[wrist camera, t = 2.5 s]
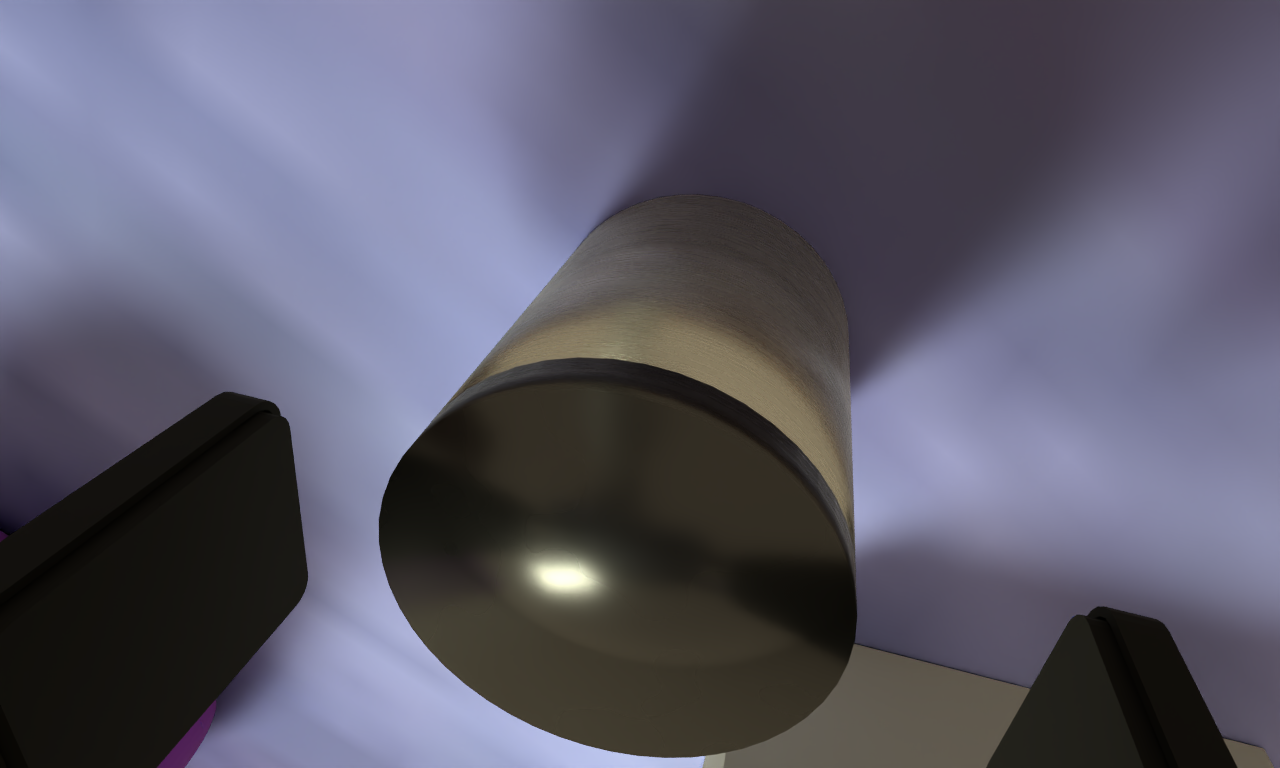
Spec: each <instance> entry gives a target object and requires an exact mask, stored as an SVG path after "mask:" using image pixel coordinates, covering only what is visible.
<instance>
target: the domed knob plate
mask: <svg viewBox="0 0 1280 768" xmlns="http://www.w3.org/2000/svg"><path fill="white" fill-rule="evenodd" d="M1029 691H1030V689H1029V688H1025V687H1021V686H1017V685H1013V684H1009V683H1005V682H1001V681H997V680H994V679H990V678H986V677H982V676H978V675H974V674H970V673H966V672H962V671H958V670H954V669H951V668H947V667H943V666H939V665H935V664H931V663H927V662H923V661H919V660H915V659H911V658H908V657H904V656H900V655H896V654H892V653H888V652H884V651H880V650H876V649H872V648H868V647H865V646H861V645H857V644H854V645H853V649H852V652H851V655H850V659H849V662H848V665H847V667H846V669H845V670H844V672H843V674H842V676H841V678H840V680H839V682H838V684H837V685H836V687H835V688H834V689H833V690H832V692H831V693H830V694H829V696H828V697H827V698H826V699H825V701H824V702H823V703H822V704H821V705H820V706H819V707H818V708H816V709H815V710H814V711H813V712H812V713H811V714H810V715H809V716H808V717H807V718H805V719H804V720H802V721H801V722H799V723H798V724H796V725H795V726H793V727H792V728H790V729H789V730H787V731H785V732H783V733H781V734H779V735H777V736H775V737H773V738H771V739H769V740H767V741H764V742H761V743H758V744H755V745H752V746H749V747H746V748H743V749H740V750H735V751H731V752H726V753H721V754H717V755H707V756H706V757H705V760H704V764H703V767H702V768H986V767H987V765H988V762H989V761H990V759H991V757H992V755H993V754H994V752H995V750H996V748H997V747H998V745H999V743H1000V741H1001V740H1002V738H1003V736H1004V734H1005V733H1006V731H1007V729H1008V727H1009V726H1010V724H1011V722H1012V720H1013V719H1014V717H1015V715H1016V713H1017V712H1018V710H1019V708H1020V706H1021V705H1022V703H1023V701H1024V699H1025V698H1026V696H1027V694H1028V692H1029ZM1223 739H1224V738H1223ZM1224 741H1225V743H1226V745H1227V747H1228V749H1229V751H1230V753H1231V755H1232V757H1233V759H1234V761H1235V763H1236V765H1237V767H1238V768H1274V767H1273V765H1272V763H1271V761H1270V759H1269V757H1268V755H1267V753H1266V752H1265V750H1264V749H1263V748H1260V747H1256V746H1252V745H1248V744H1244V743H1240V742H1236V741H1232V740H1228V739H1224Z"/></svg>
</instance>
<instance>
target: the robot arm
mask: <svg viewBox="0 0 1280 768" xmlns="http://www.w3.org/2000/svg"><path fill="white" fill-rule="evenodd" d="M307 581H308V571H307V563H306V555H305V546H304V538H303V530H302V522H301V514H300V505H299V497H298V489H297V481H296V473H295V464H294V456H293V448H292V440H291V432H290V426H289V422H288V421H287V420H286V418H284V417H282V416H281V415H280V411H279V409H278V407H277V406H276V405H275V404H274V403H272V402H270V401H266V400H262V399H258V398H254V397H250V396H246V395H242V394H238V393H234V392H223V393H221V394H219V395H217V396H215V397H214V398H212V399H211V400H209V401H208V402H206V403H205V404H203V405H202V406H200V407H199V408H197V409H196V410H194V411H193V412H191V413H190V414H188V415H187V416H186V417H184V418H183V419H181V420H180V421H178V422H177V423H175V424H174V425H172V426H171V427H169V428H168V429H166V430H165V431H163V432H162V433H160V434H159V435H157V436H156V437H154V438H153V439H152V440H150V441H149V442H147V443H146V444H144V445H143V446H141V447H140V448H138V449H137V450H135V451H134V452H132V453H131V454H129V455H128V456H126V457H125V458H123V459H122V460H120V461H119V462H117V463H116V464H115V465H113V466H112V467H110V468H109V469H107V470H106V471H104V472H103V473H101V474H100V475H98V476H97V477H95V478H94V479H92V480H91V481H89V482H88V483H86V484H85V485H83V486H82V487H81V488H79V489H78V490H76V491H75V492H73V493H72V494H70V495H69V496H67V497H66V498H64V499H63V500H61V501H60V502H58V503H57V504H55V505H54V506H52V507H51V508H49V509H48V510H47V511H45V512H44V513H42V514H41V515H39V516H38V517H36V518H35V519H33V520H32V521H30V522H29V523H27V524H26V525H24V526H23V527H21V528H20V529H18V530H17V531H15V532H14V533H12V534H11V535H10V536H8V537H7V538H5V539H4V540H2V541H1V542H0V768H157V767H158V766H159V765H160V764H161V762H162V761H163V760H164V759H165V758H166V757H167V755H168V754H169V753H170V752H171V751H172V750H173V748H174V747H175V746H176V745H177V744H178V743H179V741H180V740H181V739H182V738H183V737H184V736H185V734H186V733H187V732H188V731H189V730H190V729H191V727H192V726H193V725H194V724H195V723H196V722H197V721H198V719H199V718H200V717H201V716H202V715H203V714H204V712H205V711H206V710H207V709H208V708H209V707H210V705H211V704H212V703H213V702H214V701H215V700H216V698H217V697H218V696H219V695H220V694H221V693H222V691H223V690H224V689H225V688H226V687H227V686H228V684H229V683H230V682H231V681H232V680H233V679H234V677H235V676H236V675H237V674H238V673H239V672H240V670H241V669H242V668H243V667H244V666H245V665H246V664H247V662H248V661H249V660H250V659H251V658H252V657H253V655H254V654H255V653H256V652H257V651H258V650H259V648H260V647H261V646H262V645H263V644H264V643H265V641H266V640H267V639H268V638H269V637H270V636H271V634H272V633H273V632H274V631H275V630H276V629H277V627H278V626H279V625H280V624H281V623H282V622H283V620H284V619H285V618H286V617H287V616H288V615H289V614H290V612H291V611H292V610H293V609H294V608H295V607H296V605H297V604H298V603H299V601H300V600H301V598H302V596H303V594H304V592H305V589H306V586H307ZM986 768H1238V767H1237V765H1236V763H1235V761H1234V759H1233V757H1232V755H1231V753H1230V751H1229V749H1228V747H1227V745H1226V743H1225V741H1224V739H1223V737H1222V735H1221V733H1220V731H1219V729H1218V728H1217V726H1216V724H1215V722H1214V720H1213V718H1212V716H1211V714H1210V712H1209V710H1208V708H1207V706H1206V704H1205V702H1204V700H1203V698H1202V696H1201V694H1200V692H1199V690H1198V688H1197V686H1196V684H1195V682H1194V680H1193V678H1192V676H1191V674H1190V672H1189V670H1188V668H1187V666H1186V664H1185V662H1184V660H1183V658H1182V656H1181V654H1180V652H1179V650H1178V648H1177V646H1176V644H1175V642H1174V640H1173V638H1172V636H1171V634H1170V632H1169V631H1168V629H1167V628H1166V626H1165V625H1164V624H1163V623H1162V622H1160V621H1159V620H1157V619H1153V618H1149V617H1145V616H1141V615H1137V614H1133V613H1128V612H1124V611H1120V610H1116V609H1112V608H1108V607H1096V608H1095V609H1093V610H1092V611H1091V612H1090V613H1089V614H1088V616H1084V615H1076V616H1074V617H1072V619H1071V620H1070V621H1069V623H1068V624H1067V626H1066V628H1065V630H1064V631H1063V633H1062V635H1061V637H1060V638H1059V640H1058V642H1057V644H1056V645H1055V647H1054V649H1053V651H1052V652H1051V654H1050V656H1049V658H1048V659H1047V661H1046V663H1045V665H1044V666H1043V668H1042V670H1041V672H1040V673H1039V675H1038V677H1037V679H1036V680H1035V682H1034V684H1033V685H1032V687H1031V689H1030V691H1029V692H1028V694H1027V696H1026V698H1025V699H1024V701H1023V703H1022V705H1021V706H1020V708H1019V710H1018V712H1017V713H1016V715H1015V717H1014V719H1013V720H1012V722H1011V724H1010V726H1009V727H1008V729H1007V731H1006V733H1005V734H1004V736H1003V738H1002V740H1001V741H1000V743H999V745H998V747H997V748H996V750H995V752H994V754H993V755H992V757H991V759H990V761H989V762H988V765H987V767H986Z"/></svg>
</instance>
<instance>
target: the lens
mask: <svg viewBox="0 0 1280 768" xmlns="http://www.w3.org/2000/svg"><path fill="white" fill-rule="evenodd" d="M379 545H380V551H381V557H382V563H383V567H384V570H385V573H386V576H387V580H388V583H389V586H390V588H391V590H392V593H393V595H394V597H395V599H396V601H397V603H398V605H399V607H400V609H401V611H402V612H403V614H404V616H405V617H406V619H407V621H408V622H409V624H410V625H411V627H412V629H413V630H414V631H415V632H416V634H417V635H418V636H419V638H420V639H421V640H422V641H423V643H424V644H425V645H426V647H427V648H428V649H429V650H430V651H431V652H432V653H433V654H434V655H435V656H436V657H437V658H438V659H439V661H440V662H441V663H442V664H443V665H444V666H445V667H446V668H447V669H449V670H450V671H451V672H452V673H453V674H454V675H455V676H457V677H458V678H459V679H460V680H461V681H462V682H463V683H465V684H466V685H467V686H469V687H470V688H471V689H473V690H474V691H475V692H477V693H478V694H479V695H481V696H482V697H484V698H485V699H486V700H488V701H489V702H491V703H493V704H494V705H496V706H498V707H499V708H501V709H502V710H504V711H506V712H507V713H509V714H511V715H513V716H515V717H517V718H519V719H521V720H523V721H525V722H527V723H529V724H530V725H532V726H535V727H537V728H539V729H542V730H544V731H547V732H549V733H551V734H554V735H556V736H559V737H562V738H565V739H568V740H571V741H574V742H577V743H580V744H583V745H587V746H591V747H595V748H599V749H603V750H607V751H612V752H618V753H624V754H630V755H637V756H649V757H662V758H676V757H698V756H707V755H717V754H721V753H726V752H731V751H735V750H740V749H743V748H746V747H749V746H752V745H755V744H758V743H761V742H764V741H767V740H769V739H771V738H773V737H775V736H777V735H779V734H781V733H783V732H785V731H787V730H789V729H790V728H792V727H793V726H795V725H796V724H798V723H799V722H801V721H802V720H804V719H805V718H807V717H808V716H809V715H810V714H811V713H812V712H813V711H814V710H815V709H816V708H818V707H819V706H820V705H821V704H822V703H823V702H824V701H825V699H826V698H827V697H828V696H829V694H830V693H831V692H832V690H833V689H834V688H835V687H836V685H837V684H838V682H839V680H840V678H841V676H842V674H843V672H844V670H845V669H846V667H847V665H848V662H849V659H850V655H851V652H852V649H853V645H854V642H855V633H856V623H857V596H856V563H855V529H854V495H853V461H852V428H851V394H850V360H849V333H848V321H847V315H846V311H845V306H844V302H843V299H842V296H841V294H840V291H839V289H838V286H837V284H836V281H835V279H834V278H833V276H832V274H831V273H830V271H829V269H828V267H827V266H826V264H825V263H824V261H823V260H822V259H821V258H820V256H819V255H818V254H817V252H816V251H815V250H814V249H813V247H812V246H811V245H809V244H808V243H807V242H806V241H805V240H804V239H803V238H802V237H801V236H800V235H799V234H798V233H797V232H796V231H794V230H793V229H792V228H790V227H789V226H787V225H786V224H785V223H783V222H782V221H781V220H779V219H777V218H775V217H773V216H772V215H770V214H768V213H766V212H764V211H763V210H760V209H758V208H755V207H753V206H750V205H748V204H745V203H743V202H739V201H735V200H731V199H727V198H723V197H718V196H709V195H701V194H690V195H673V196H666V197H659V198H655V199H652V200H648V201H645V202H641V203H638V204H636V205H634V206H631V207H629V208H627V209H625V210H622V211H620V212H619V213H617V214H615V215H614V216H612V217H611V218H609V219H607V220H606V221H604V222H603V223H602V224H601V225H600V226H598V227H597V228H596V229H595V230H594V231H592V232H591V233H590V234H589V235H588V237H587V238H586V239H585V240H584V241H583V242H582V243H581V244H580V246H579V247H578V248H577V249H576V250H575V251H574V253H573V254H572V255H571V256H570V257H569V259H568V260H567V261H566V262H565V263H564V265H563V266H562V267H561V268H560V269H559V271H558V272H557V273H556V274H555V275H554V277H553V278H552V279H551V280H550V281H549V282H548V284H547V285H546V286H545V287H544V288H543V290H542V291H541V292H540V293H539V294H538V296H537V297H536V298H535V299H534V300H533V302H532V303H531V304H530V305H529V306H528V307H527V309H526V310H525V311H524V312H523V313H522V315H521V316H520V317H519V318H518V319H517V321H516V322H515V323H514V324H513V325H512V327H511V328H510V329H509V330H508V331H507V333H506V334H505V335H504V336H503V337H502V338H501V340H500V341H499V342H498V343H497V344H496V346H495V347H494V348H493V349H492V350H491V352H490V353H489V354H488V355H487V356H486V358H485V359H484V360H483V361H482V362H481V364H480V365H479V366H478V367H477V368H476V369H475V371H474V372H473V373H472V374H471V375H470V377H469V378H468V379H467V380H466V381H465V383H464V384H463V385H462V386H461V387H460V389H459V390H458V391H457V392H456V393H455V395H454V396H453V397H452V398H451V399H450V400H449V402H448V403H447V404H446V405H445V406H444V408H443V409H442V410H441V411H440V412H439V414H438V415H437V416H436V417H435V418H434V420H433V421H432V422H431V423H430V424H429V426H428V427H427V428H426V429H425V430H424V431H423V433H422V434H421V435H420V436H419V437H418V439H417V440H416V441H415V442H414V443H413V445H412V446H411V447H410V448H409V449H408V451H407V452H406V453H405V454H404V455H403V457H402V458H401V460H400V462H399V463H398V465H397V467H396V468H395V470H394V472H393V473H392V475H391V477H390V479H389V482H388V485H387V488H386V490H385V493H384V496H383V499H382V505H381V511H380V516H379Z"/></svg>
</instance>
